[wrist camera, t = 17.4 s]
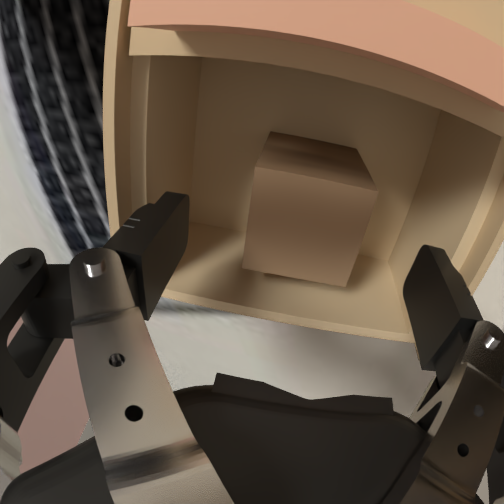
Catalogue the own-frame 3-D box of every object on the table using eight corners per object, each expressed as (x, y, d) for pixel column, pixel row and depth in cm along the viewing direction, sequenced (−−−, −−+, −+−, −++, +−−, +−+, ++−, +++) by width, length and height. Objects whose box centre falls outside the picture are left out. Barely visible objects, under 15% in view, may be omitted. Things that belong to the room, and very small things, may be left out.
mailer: (398, 265, 18) (426, 361, 12) (176, 220, 18) (121, 304, 12) (471, 27, 10) (564, 28, 4) (198, -35, 10) (125, -83, 4)
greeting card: (21, 288, 25) (-64, 406, 13) (71, 291, 23) (-24, 440, 11) (72, 365, 31) (18, 472, 19) (123, 376, 30) (70, 502, 17)
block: (336, 223, 16) (345, 286, 12) (259, 208, 16) (241, 267, 12) (356, 148, 14) (378, 191, 10) (270, 131, 14) (254, 166, 10)
